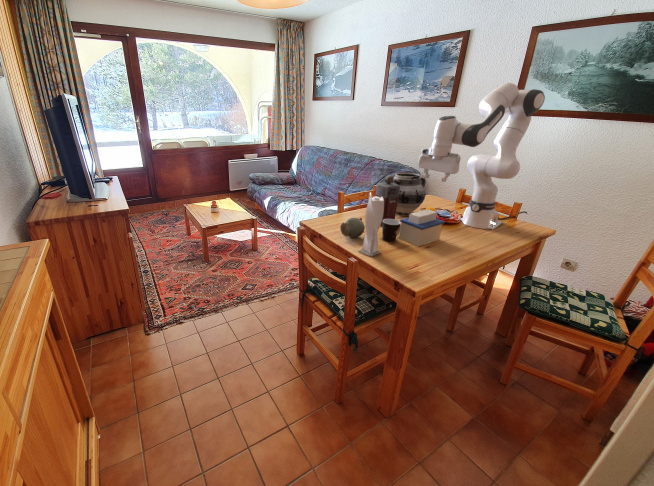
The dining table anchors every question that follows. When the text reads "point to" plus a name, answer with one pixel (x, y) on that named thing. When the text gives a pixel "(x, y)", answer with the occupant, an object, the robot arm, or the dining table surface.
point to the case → (422, 216)
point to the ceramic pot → (409, 192)
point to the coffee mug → (390, 230)
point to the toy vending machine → (388, 197)
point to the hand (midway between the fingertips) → (435, 179)
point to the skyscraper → (372, 225)
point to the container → (420, 231)
